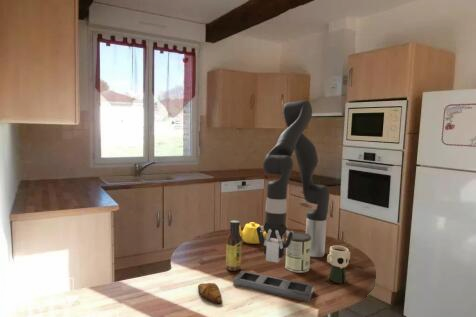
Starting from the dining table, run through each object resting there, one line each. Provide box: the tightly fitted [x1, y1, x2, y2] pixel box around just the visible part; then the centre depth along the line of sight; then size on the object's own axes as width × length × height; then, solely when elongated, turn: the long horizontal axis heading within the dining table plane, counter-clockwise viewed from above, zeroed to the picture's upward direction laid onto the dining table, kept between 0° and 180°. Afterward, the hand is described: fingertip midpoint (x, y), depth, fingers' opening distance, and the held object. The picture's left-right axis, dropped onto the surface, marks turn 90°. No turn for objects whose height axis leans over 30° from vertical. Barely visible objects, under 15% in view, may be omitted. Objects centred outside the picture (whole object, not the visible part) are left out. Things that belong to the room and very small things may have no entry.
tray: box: [232, 270, 314, 302], centre depth 122 cm, size 8×28×2 cm, turn 68°
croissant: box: [197, 282, 223, 305], centre depth 115 cm, size 14×7×5 cm, turn 37°
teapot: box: [239, 221, 267, 245], centre depth 174 cm, size 14×13×10 cm
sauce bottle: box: [225, 219, 243, 272], centre depth 138 cm, size 7×6×20 cm
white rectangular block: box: [265, 238, 282, 264], centre depth 121 cm, size 4×4×7 cm
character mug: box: [326, 245, 351, 284], centre depth 130 cm, size 11×7×13 cm, turn 113°
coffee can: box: [284, 231, 311, 274], centre depth 142 cm, size 10×10×14 cm
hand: (273, 256), depth 122 cm, fingers closed on white rectangular block, 4 cm apart
